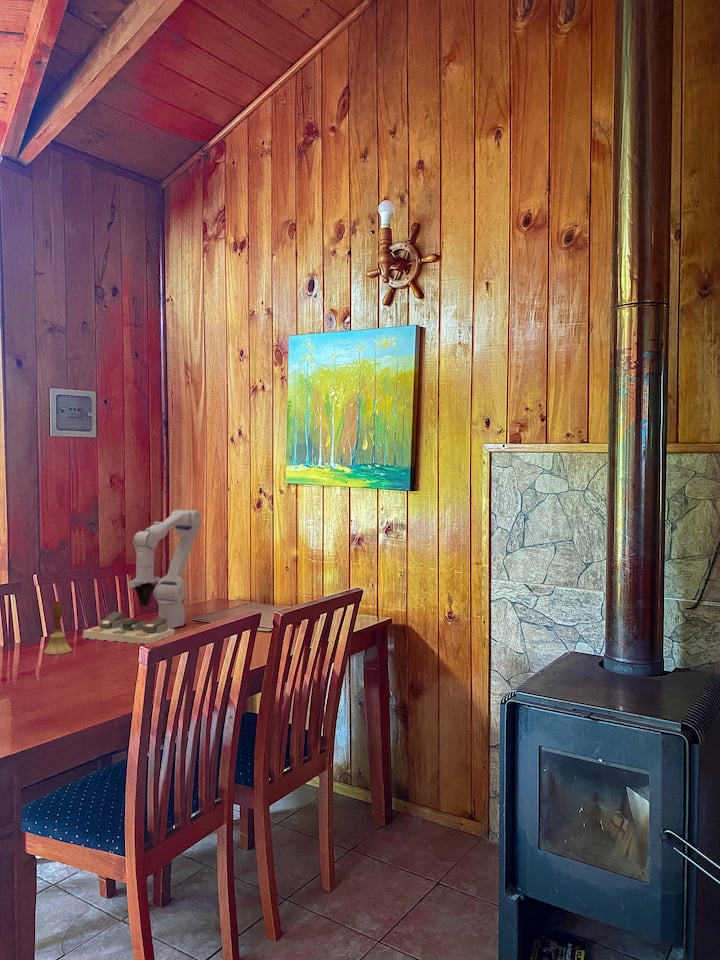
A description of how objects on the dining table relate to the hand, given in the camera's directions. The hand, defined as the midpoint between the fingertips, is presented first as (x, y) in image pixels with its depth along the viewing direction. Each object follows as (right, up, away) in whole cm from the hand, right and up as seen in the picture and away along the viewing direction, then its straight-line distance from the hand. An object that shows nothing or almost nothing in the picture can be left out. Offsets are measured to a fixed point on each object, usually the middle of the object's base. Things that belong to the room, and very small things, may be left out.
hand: (144, 605), depth 250 cm
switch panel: (-5, -10, -2) cm, 11 cm away
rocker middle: (-4, -6, 0) cm, 7 cm away
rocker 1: (-12, -6, +3) cm, 14 cm away
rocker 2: (+5, -6, -3) cm, 8 cm away
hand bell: (-21, -11, -21) cm, 32 cm away
